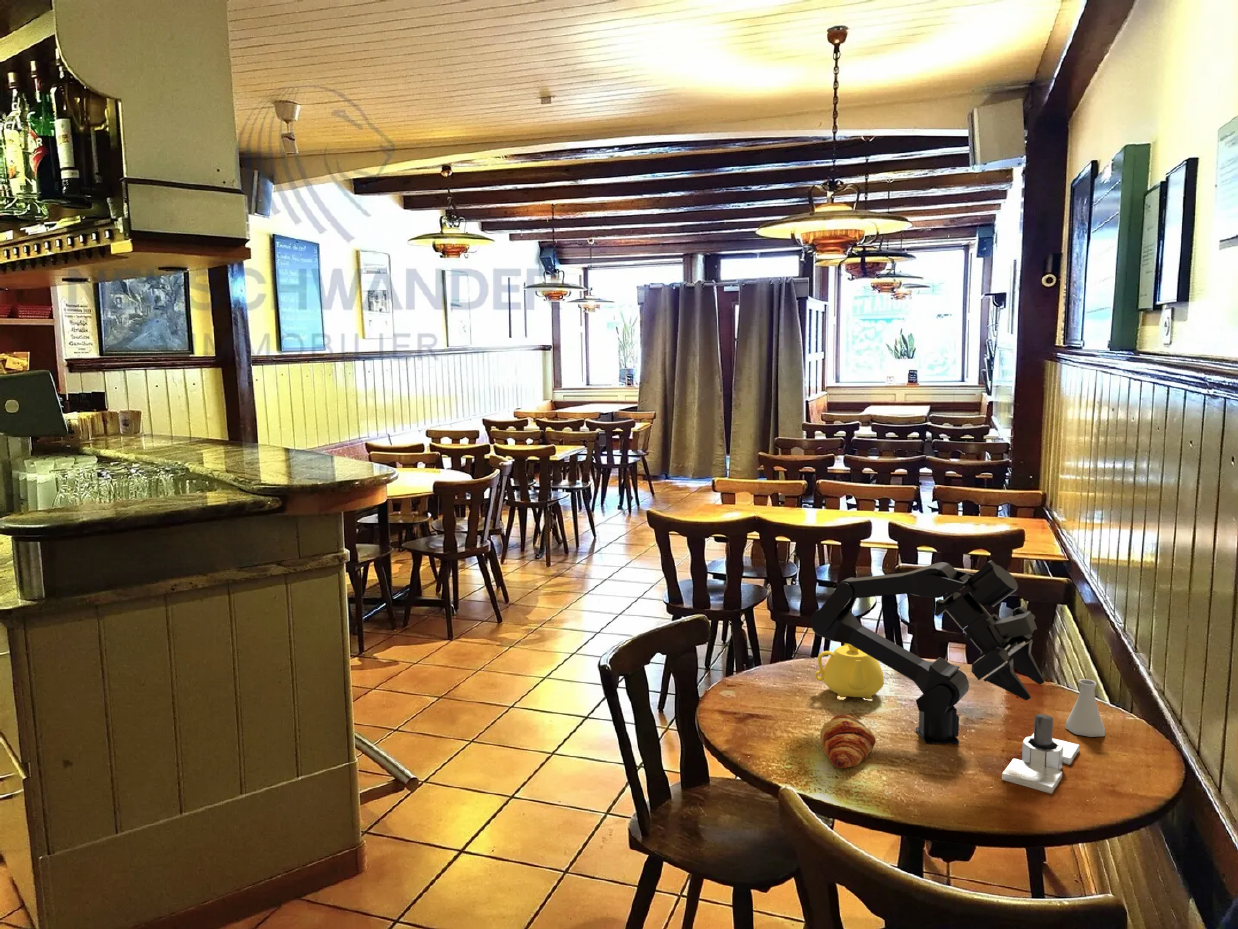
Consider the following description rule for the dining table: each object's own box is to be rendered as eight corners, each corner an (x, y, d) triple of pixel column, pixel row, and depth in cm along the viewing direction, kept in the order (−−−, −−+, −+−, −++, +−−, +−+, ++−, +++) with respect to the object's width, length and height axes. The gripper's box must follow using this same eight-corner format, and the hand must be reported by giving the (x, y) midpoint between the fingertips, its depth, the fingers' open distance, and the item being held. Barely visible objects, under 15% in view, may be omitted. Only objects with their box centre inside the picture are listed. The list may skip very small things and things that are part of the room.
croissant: (835, 742, 174) (816, 707, 175) (881, 725, 171) (862, 689, 171) (826, 791, 154) (806, 750, 155) (879, 772, 151) (857, 731, 151)
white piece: (1002, 779, 151) (1002, 758, 150) (1033, 739, 166) (1034, 719, 166) (1051, 793, 146) (1052, 771, 145) (1079, 750, 161) (1080, 730, 161)
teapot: (810, 676, 201) (811, 628, 199) (875, 678, 199) (876, 630, 197) (818, 710, 181) (819, 658, 180) (891, 713, 179) (892, 660, 178)
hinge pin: (1036, 768, 155) (1039, 721, 153) (1029, 761, 158) (1031, 714, 156) (1053, 768, 154) (1056, 721, 153) (1046, 761, 157) (1048, 714, 156)
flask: (1111, 739, 166) (1114, 690, 164) (1070, 737, 167) (1073, 687, 166) (1099, 724, 173) (1101, 676, 171) (1059, 721, 174) (1062, 674, 173)
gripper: (992, 608, 149) (1059, 683, 144) (1022, 585, 164) (1084, 653, 158) (945, 642, 155) (1007, 716, 150) (978, 617, 170) (1036, 684, 164)
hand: (1035, 691), depth 155 cm, fingers open, 9 cm apart
